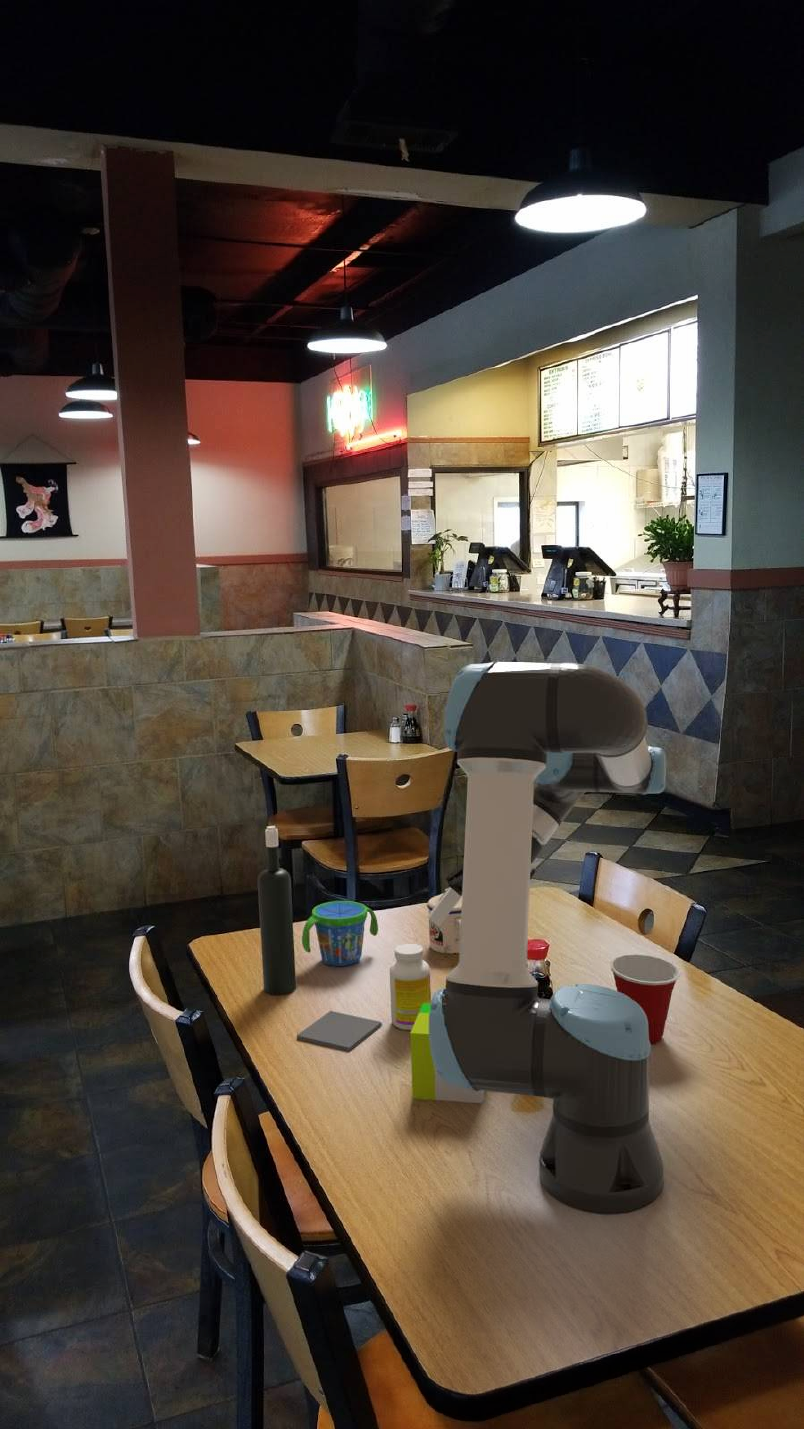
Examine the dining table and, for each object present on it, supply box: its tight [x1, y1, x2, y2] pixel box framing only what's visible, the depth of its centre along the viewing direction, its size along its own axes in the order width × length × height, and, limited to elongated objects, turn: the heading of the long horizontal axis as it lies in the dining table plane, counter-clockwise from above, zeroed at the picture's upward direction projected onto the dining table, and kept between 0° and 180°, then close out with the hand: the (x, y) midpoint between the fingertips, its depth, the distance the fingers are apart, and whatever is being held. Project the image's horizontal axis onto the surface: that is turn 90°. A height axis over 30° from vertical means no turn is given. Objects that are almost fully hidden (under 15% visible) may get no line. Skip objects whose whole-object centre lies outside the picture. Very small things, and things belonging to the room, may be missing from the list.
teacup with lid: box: [426, 887, 462, 955], centre depth 209 cm, size 12×9×12 cm
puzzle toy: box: [409, 1003, 486, 1104], centre depth 157 cm, size 10×10×10 cm
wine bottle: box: [257, 825, 297, 996], centre depth 191 cm, size 6×6×30 cm
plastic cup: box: [609, 953, 682, 1046], centre depth 169 cm, size 11×11×12 cm
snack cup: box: [301, 900, 379, 967], centre depth 205 cm, size 16×10×10 cm
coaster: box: [296, 1010, 383, 1052], centre depth 176 cm, size 10×10×1 cm
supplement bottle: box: [389, 943, 432, 1031], centre depth 177 cm, size 7×7×13 cm
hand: (452, 934), depth 180 cm, fingers open, 13 cm apart
